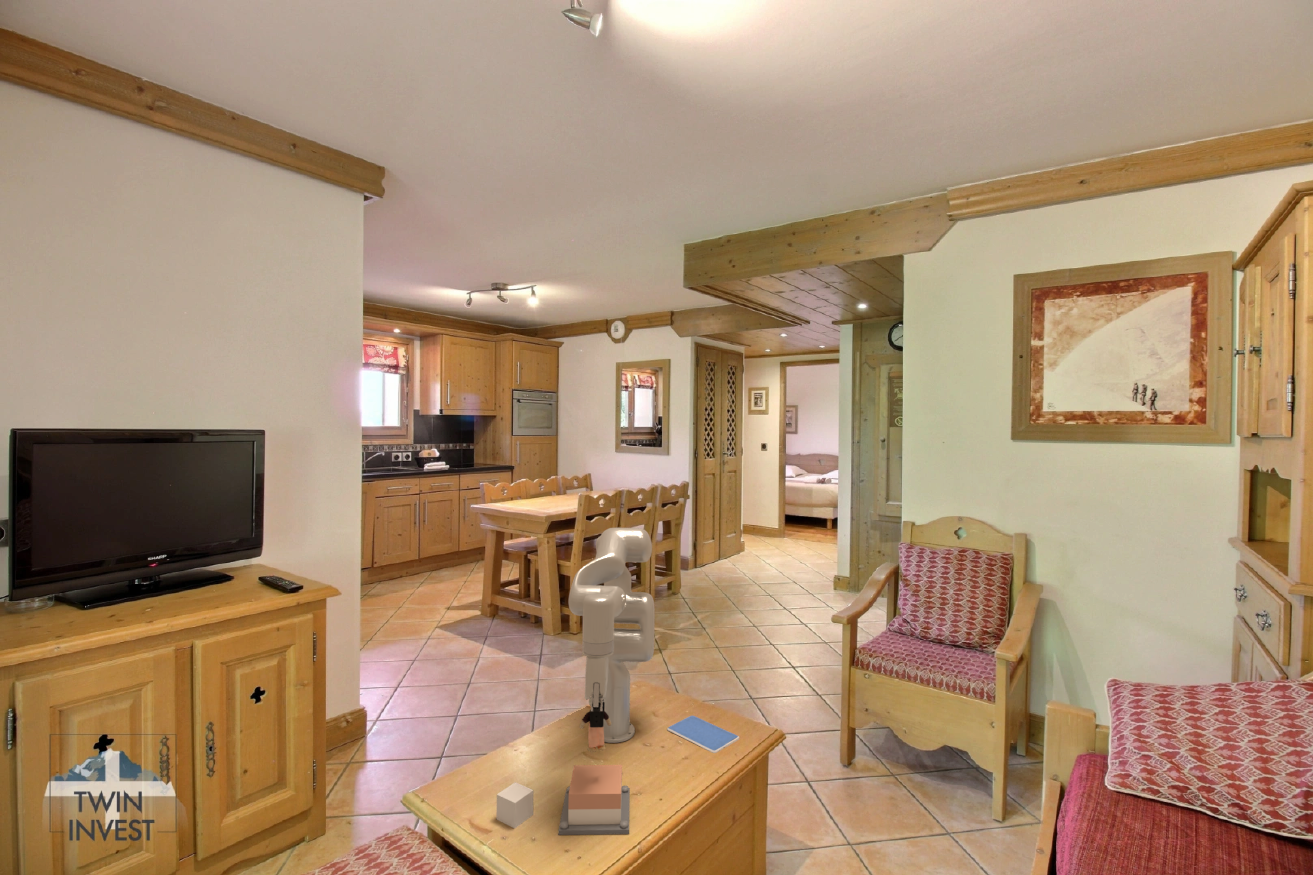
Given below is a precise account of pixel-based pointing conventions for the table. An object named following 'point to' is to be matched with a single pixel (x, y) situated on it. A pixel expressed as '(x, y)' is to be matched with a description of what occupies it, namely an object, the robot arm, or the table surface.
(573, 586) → the robot arm
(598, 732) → the grandmother figurine
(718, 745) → the tablet computer
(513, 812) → the white cube
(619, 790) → the pink framed box
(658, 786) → the table surface
